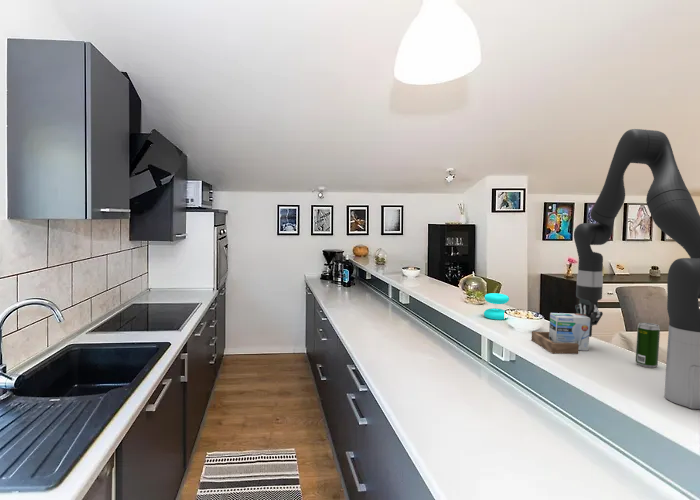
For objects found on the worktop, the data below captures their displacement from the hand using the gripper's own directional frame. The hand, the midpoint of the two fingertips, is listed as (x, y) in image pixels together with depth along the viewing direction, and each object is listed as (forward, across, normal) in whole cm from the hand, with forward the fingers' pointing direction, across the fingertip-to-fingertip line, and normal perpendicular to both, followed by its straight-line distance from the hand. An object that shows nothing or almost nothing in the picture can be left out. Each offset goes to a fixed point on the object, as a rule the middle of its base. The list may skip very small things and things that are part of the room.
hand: (586, 336), depth 147 cm
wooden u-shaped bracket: (+3, 0, +11) cm, 12 cm away
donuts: (+4, +43, +16) cm, 46 cm away
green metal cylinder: (+4, -18, -8) cm, 20 cm away
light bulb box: (+4, -1, +7) cm, 8 cm away
